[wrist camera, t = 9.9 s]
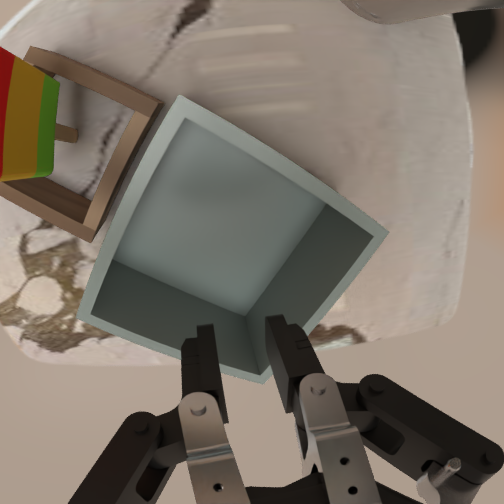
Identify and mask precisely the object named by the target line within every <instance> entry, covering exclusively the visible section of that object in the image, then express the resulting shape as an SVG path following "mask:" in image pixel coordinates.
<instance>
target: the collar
mask: <svg viewBox="0 0 504 504" xmlns="http://www.w3.org/2000/svg"><path fill="white" fill-rule="evenodd" d="M23 60H24V61H25V62H27V63H28V64H30V65H32V66H33V67H35V68H37V69H38V70H40V71H42V72H43V73H45V74H46V75H48V76H50V77H51V78H53V76H54V74H58V75H60V76H62V77H65V78H67V79H69V80H71V81H74V82H76V83H78V84H80V85H83V86H85V87H87V88H89V89H91V90H93V91H96V92H98V93H100V94H102V95H104V96H106V97H108V98H110V99H113V100H115V101H117V102H119V103H121V104H123V105H125V106H127V107H129V108H131V109H133V110H135V112H134V114H133V116H132V118H131V120H130V122H129V123H128V125H127V127H126V129H125V131H124V133H123V135H122V137H121V139H120V141H119V143H118V145H117V147H116V149H115V151H114V153H113V155H112V157H111V159H110V161H109V163H108V166H107V168H106V170H105V172H104V174H103V177H102V179H101V181H100V183H99V186H98V188H97V190H96V193H95V195H94V197H93V200H92V201H90V200H88V199H86V198H84V197H82V196H80V195H78V194H76V193H74V192H72V191H70V190H68V189H66V188H64V187H62V186H60V185H59V184H57V183H55V182H53V181H51V180H49V179H47V178H45V177H35V178H26V179H18V180H9V181H2V182H0V196H2V197H4V198H5V199H7V200H9V201H11V202H13V203H14V204H16V205H18V206H20V207H22V208H24V209H25V210H27V211H29V212H31V213H33V214H35V215H36V216H38V217H40V218H42V219H44V220H46V221H48V222H50V223H52V224H54V225H56V226H57V227H59V228H61V229H63V230H65V231H67V232H69V233H71V234H73V235H75V236H77V237H79V238H81V239H83V240H85V241H87V242H89V243H91V242H92V241H93V239H94V237H95V236H96V234H97V233H98V231H99V229H100V228H101V226H102V225H103V223H104V222H105V220H106V217H107V215H108V213H109V210H110V208H111V206H112V204H113V201H114V199H115V197H116V195H117V193H118V190H119V188H120V186H121V184H122V182H123V180H124V178H125V176H126V174H127V172H128V170H129V168H130V166H131V164H132V162H133V160H134V158H135V156H136V154H137V152H138V150H139V148H140V146H141V144H142V142H143V141H144V139H145V137H146V135H147V133H148V131H149V130H150V128H151V126H152V124H153V122H154V121H155V119H156V117H157V115H158V114H159V112H160V110H161V109H162V107H163V105H164V104H165V103H164V102H162V101H160V100H158V99H156V98H154V97H152V96H150V95H148V94H146V93H144V92H142V91H140V90H138V89H136V88H134V87H132V86H130V85H128V84H126V83H124V82H121V81H119V80H117V79H115V78H113V77H111V76H109V75H106V74H104V73H102V72H100V71H98V70H95V69H93V68H91V67H88V66H86V65H84V64H82V63H79V62H77V61H74V60H72V59H70V58H67V57H65V56H62V55H60V54H57V53H55V52H52V51H48V50H44V49H40V48H36V47H32V46H30V48H29V49H28V51H27V53H26V55H25V57H24V59H23Z"/></svg>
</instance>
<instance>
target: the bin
mask: <svg viewBox="0 0 504 504" xmlns="http://www.w3.org/2000/svg"><path fill="white" fill-rule="evenodd" d="M388 233H389V231H388V230H386V229H385V228H384V227H383V226H381V225H380V224H379V223H377V222H376V221H375V220H374V219H372V218H371V217H370V216H368V215H367V214H366V213H364V212H363V211H362V210H360V209H359V208H358V207H356V206H355V205H354V204H352V203H351V202H350V201H348V200H347V199H346V198H344V197H343V196H341V195H340V194H339V193H337V192H336V191H334V190H333V189H332V188H330V187H329V186H327V185H326V184H325V183H323V182H322V181H320V180H319V179H317V178H316V177H314V176H313V175H312V174H310V173H309V172H307V171H306V170H304V169H303V168H301V167H300V166H298V165H297V164H295V163H294V162H292V161H291V160H289V159H288V158H286V157H285V156H283V155H281V154H280V153H278V152H277V151H275V150H274V149H272V148H271V147H269V146H267V145H266V144H264V143H263V142H261V141H259V140H258V139H256V138H255V137H253V136H251V135H250V134H248V133H246V132H245V131H243V130H241V129H240V128H238V127H236V126H235V125H233V124H231V123H230V122H228V121H226V120H224V119H223V118H221V117H219V116H217V115H216V114H214V113H212V112H210V111H209V110H207V109H205V108H203V107H201V106H200V105H198V104H196V103H194V102H192V101H191V100H189V99H187V98H185V97H183V96H181V95H178V97H177V98H176V100H175V102H174V103H173V105H172V107H171V108H170V110H169V112H168V113H167V115H166V117H165V118H164V120H163V122H162V124H161V125H160V127H159V129H158V131H157V132H156V134H155V136H154V138H153V139H152V141H151V143H150V145H149V147H148V149H147V151H146V152H145V154H144V156H143V158H142V160H141V162H140V164H139V166H138V168H137V170H136V172H135V174H134V176H133V178H132V180H131V182H130V184H129V186H128V188H127V190H126V192H125V194H124V196H123V198H122V201H121V203H120V205H119V207H118V209H117V211H116V214H115V216H114V218H113V220H112V223H111V225H110V227H109V230H108V232H107V234H106V237H105V239H104V242H103V244H102V246H101V249H100V251H99V254H98V257H97V259H96V262H95V264H94V267H93V270H92V272H91V275H90V278H89V280H88V283H87V286H86V289H85V292H84V294H83V297H82V300H81V303H80V306H79V309H78V312H77V316H76V318H77V319H79V320H81V321H84V322H86V323H88V324H90V325H92V326H95V327H97V328H99V329H102V330H104V331H106V332H109V333H111V334H113V335H116V336H118V337H121V338H123V339H126V340H128V341H131V342H133V343H136V344H138V345H141V346H144V347H146V348H149V349H152V350H154V351H157V352H160V353H162V354H165V355H168V356H171V357H174V358H177V359H180V360H181V346H182V345H183V343H184V341H185V339H186V338H195V337H197V327H196V326H197V325H202V324H210V323H213V325H214V332H215V339H216V345H217V352H218V359H219V365H220V372H221V373H224V374H227V375H231V376H234V377H237V378H241V379H245V380H248V381H252V382H256V383H260V384H264V383H265V382H266V381H267V380H268V379H269V378H270V377H271V376H272V375H273V372H272V369H271V365H270V362H269V359H268V356H267V352H266V346H265V316H270V315H277V314H283V315H284V318H285V320H286V322H287V325H289V324H295V323H296V324H297V325H299V326H300V327H301V328H302V329H304V330H305V333H306V335H307V336H308V335H309V333H310V332H311V331H312V330H313V329H314V328H315V326H316V325H317V324H318V323H319V322H320V321H321V319H322V318H323V317H324V316H325V315H326V313H327V312H328V311H329V310H330V309H331V307H332V306H333V305H334V304H335V303H336V301H337V300H338V299H339V298H340V296H341V295H342V294H343V293H344V291H345V290H346V289H347V288H348V286H349V285H350V284H351V283H352V281H353V280H354V279H355V277H356V276H357V275H358V274H359V272H360V271H361V270H362V268H363V267H364V266H365V264H366V263H367V262H368V260H369V259H370V258H371V256H372V255H373V254H374V252H375V251H376V250H377V248H378V247H379V246H380V244H381V243H382V242H383V240H384V239H385V237H386V236H387V235H388Z"/></svg>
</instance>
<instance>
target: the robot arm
mask: <svg viewBox="0 0 504 504" xmlns="http://www.w3.org/2000/svg"><path fill="white" fill-rule="evenodd" d="M340 1H341V2H342V3H344V4H345V5H346V6H347V7H348V8H349V9H350V10H352V11H353V12H355V13H356V14H358V15H359V16H361V17H363V18H365V19H367V20H370V21H373V22H376V23H380V24H397V23H401V22H406V21H410V20H415V19H421V18H426V17H431V16H437V15H443V14H449V13H455V12H463V11H471V10H480V9H492V8H504V0H340ZM196 327H197V337H195V338H186V339H185V341H184V343H183V345H182V346H181V366H182V368H181V371H182V399H181V401H180V403H179V405H178V406H177V407H176V408H175V409H173V410H172V411H170V412H167V413H165V414H162V415H159V416H155V415H153V414H151V413H149V412H136V413H133V414H131V415H130V416H128V417H127V418H126V419H125V421H124V422H123V424H122V425H121V427H120V428H119V429H118V431H117V432H116V434H115V435H114V437H113V438H112V439H111V441H110V442H109V444H108V445H107V447H106V448H105V450H104V451H103V453H102V454H101V455H100V457H99V458H98V460H97V461H96V463H95V464H94V466H93V467H92V469H91V470H90V472H89V473H88V475H87V476H86V478H85V479H84V480H83V482H82V483H81V485H80V486H79V488H78V489H77V491H76V492H75V494H74V495H73V496H72V498H71V499H70V501H69V502H68V504H155V503H156V502H157V500H158V498H159V496H160V494H161V492H162V491H163V489H164V487H165V485H166V483H167V481H168V480H169V478H170V476H171V474H172V472H173V470H174V469H175V467H176V464H178V463H181V462H183V461H186V460H187V465H188V470H189V474H190V479H191V483H192V487H193V491H194V495H195V499H196V503H197V504H423V503H420V502H418V501H416V500H414V499H412V498H410V497H407V496H405V495H403V494H401V493H399V492H397V491H395V490H392V489H391V488H389V487H387V486H385V485H383V484H380V483H379V482H376V481H375V479H374V476H373V473H372V470H371V467H370V464H369V461H368V457H367V454H366V451H365V448H364V445H365V446H366V447H368V448H369V449H370V450H372V451H373V452H375V453H376V454H377V455H379V456H380V457H382V458H383V459H384V460H386V461H387V462H389V463H390V464H392V465H393V466H394V467H396V468H397V469H399V470H400V471H402V472H403V473H405V474H407V475H408V476H410V477H411V478H412V479H414V480H415V481H417V491H418V494H419V496H420V497H423V498H424V499H425V501H426V503H427V504H471V502H472V501H473V499H474V497H475V495H476V494H477V492H478V490H479V489H480V487H481V485H482V484H483V483H484V482H486V481H487V480H488V479H489V478H491V477H492V476H493V475H494V474H495V473H497V472H498V471H499V470H500V469H501V468H502V466H503V464H504V452H503V450H502V448H501V447H500V446H499V445H497V444H496V443H494V442H492V441H491V440H489V439H487V438H486V437H484V436H482V435H480V434H479V433H477V432H475V431H474V430H472V429H470V428H469V427H467V426H465V425H463V424H462V423H460V422H458V421H457V420H455V419H453V418H452V417H450V416H448V415H447V414H445V413H443V412H442V411H440V410H438V409H437V408H435V407H433V406H432V405H430V404H429V403H427V402H425V401H424V400H422V399H420V398H418V397H417V396H416V395H413V394H412V393H411V392H409V391H407V390H406V389H404V388H403V387H401V386H399V385H398V384H396V383H395V382H393V381H391V380H390V379H388V378H386V377H385V376H383V375H378V374H372V375H367V376H365V377H364V378H363V379H362V380H361V381H360V383H340V382H336V381H335V380H334V379H333V378H332V377H330V376H328V375H326V374H325V372H324V370H323V368H322V366H321V364H320V362H319V360H318V358H317V356H316V353H315V351H314V349H313V347H312V345H311V343H310V341H309V340H308V337H307V335H306V333H305V330H304V329H302V328H301V327H300V326H299V325H297V324H296V323H295V324H289V325H287V322H286V320H285V318H284V315H283V314H277V315H270V316H265V346H266V352H267V356H268V359H269V362H270V365H271V369H272V372H273V375H274V378H275V381H276V384H277V387H278V390H279V393H280V397H281V400H282V403H283V406H284V409H285V412H286V413H291V412H293V414H294V417H295V430H296V435H297V440H298V445H299V451H300V455H301V461H302V476H303V478H302V479H300V480H298V481H296V482H294V483H292V484H289V485H287V486H285V487H275V488H274V487H252V486H250V487H244V484H243V481H242V478H241V475H240V472H239V469H238V466H237V463H236V460H235V457H234V454H233V451H232V449H231V447H230V444H229V441H228V438H227V435H226V432H225V428H224V424H225V423H229V421H228V416H227V409H226V404H225V397H224V391H223V385H222V379H221V372H220V365H219V359H218V352H217V345H216V339H215V332H214V325H213V323H210V324H202V325H197V326H196Z"/></svg>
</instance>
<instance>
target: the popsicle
mask: <svg viewBox="0 0 504 504" xmlns="http://www.w3.org/2000/svg"><path fill="white" fill-rule="evenodd" d="M59 87H60V83H59V82H58V81H56V80H54V79H53V78H51V77H50V76H48V75H46V74H45V73H43V72H42V71H40V70H38V69H37V68H35V67H33V66H32V65H30V64H28V63H27V62H25V61H24V60H22V59H20V58H19V57H17V56H15V55H14V54H12V53H10V52H9V51H7V50H5V49H3V48H2V47H0V182H2V181H9V180H18V179H26V178H35V177H44V176H48V175H50V174H51V173H52V172H53V168H54V140H59V141H65V142H70V143H76V142H77V138H78V132H77V130H76V129H73V128H70V127H67V126H63V125H60V124H57V123H56V113H57V103H58V95H59Z"/></svg>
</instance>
